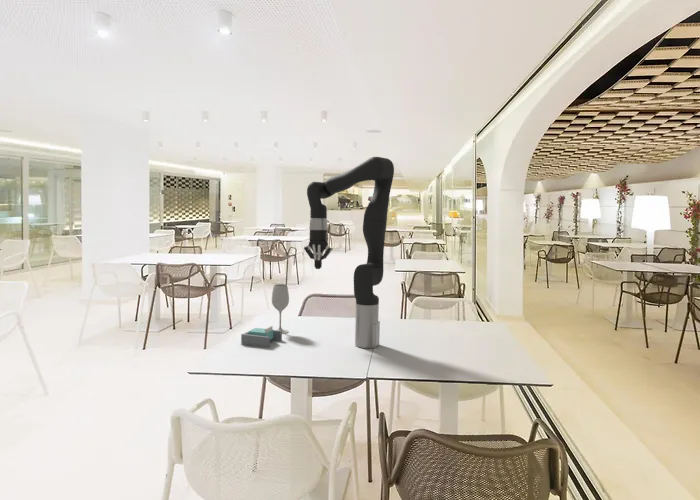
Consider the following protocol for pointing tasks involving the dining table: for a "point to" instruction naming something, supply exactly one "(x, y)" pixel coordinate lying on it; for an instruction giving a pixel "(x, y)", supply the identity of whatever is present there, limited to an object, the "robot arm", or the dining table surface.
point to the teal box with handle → (262, 332)
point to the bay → (260, 339)
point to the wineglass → (280, 300)
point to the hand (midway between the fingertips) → (317, 268)
